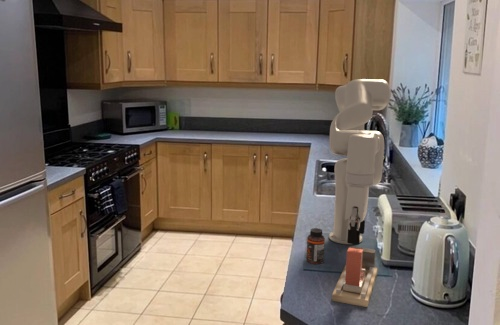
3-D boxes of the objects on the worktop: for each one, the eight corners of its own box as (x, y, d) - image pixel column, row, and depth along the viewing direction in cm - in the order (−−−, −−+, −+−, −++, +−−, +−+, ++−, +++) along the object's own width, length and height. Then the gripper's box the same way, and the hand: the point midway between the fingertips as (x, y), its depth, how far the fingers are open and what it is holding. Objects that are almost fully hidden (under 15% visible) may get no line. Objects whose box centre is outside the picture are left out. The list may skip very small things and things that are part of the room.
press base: (346, 268, 162) (347, 245, 160) (377, 273, 159) (378, 250, 157) (331, 300, 140) (333, 274, 138) (367, 307, 137) (369, 280, 135)
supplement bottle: (303, 259, 169) (304, 227, 167) (318, 257, 171) (319, 226, 169) (311, 265, 164) (312, 233, 162) (326, 263, 166) (328, 231, 164)
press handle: (347, 279, 149) (349, 241, 146) (364, 282, 147) (366, 244, 145) (343, 290, 141) (345, 251, 139) (360, 293, 140) (363, 253, 137)
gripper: (350, 172, 144) (347, 227, 148) (340, 184, 128) (336, 246, 132) (377, 174, 142) (373, 230, 145) (369, 186, 126) (365, 250, 129)
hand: (355, 238), depth 138 cm, fingers open, 9 cm apart
